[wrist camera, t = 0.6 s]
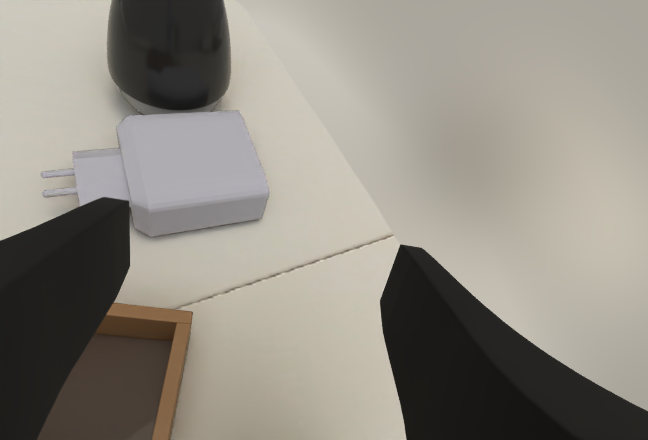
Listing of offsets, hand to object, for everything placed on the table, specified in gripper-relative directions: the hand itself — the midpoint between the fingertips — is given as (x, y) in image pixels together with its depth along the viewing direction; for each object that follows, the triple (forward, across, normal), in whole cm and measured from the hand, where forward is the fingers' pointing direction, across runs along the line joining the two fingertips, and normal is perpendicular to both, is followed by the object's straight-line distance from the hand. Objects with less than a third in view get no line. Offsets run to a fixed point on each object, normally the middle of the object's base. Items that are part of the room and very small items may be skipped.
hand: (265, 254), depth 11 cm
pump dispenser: (+32, +10, +7) cm, 35 cm away
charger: (+22, +9, +11) cm, 27 cm away
